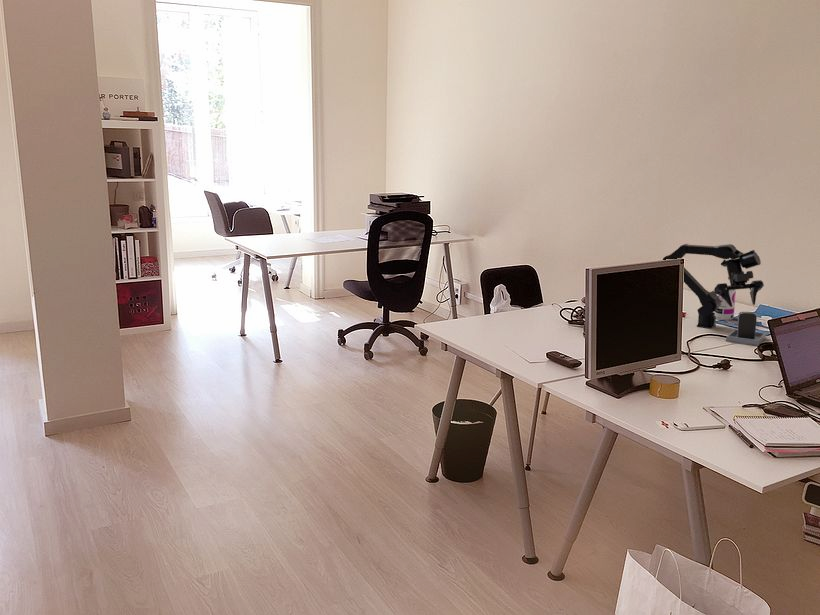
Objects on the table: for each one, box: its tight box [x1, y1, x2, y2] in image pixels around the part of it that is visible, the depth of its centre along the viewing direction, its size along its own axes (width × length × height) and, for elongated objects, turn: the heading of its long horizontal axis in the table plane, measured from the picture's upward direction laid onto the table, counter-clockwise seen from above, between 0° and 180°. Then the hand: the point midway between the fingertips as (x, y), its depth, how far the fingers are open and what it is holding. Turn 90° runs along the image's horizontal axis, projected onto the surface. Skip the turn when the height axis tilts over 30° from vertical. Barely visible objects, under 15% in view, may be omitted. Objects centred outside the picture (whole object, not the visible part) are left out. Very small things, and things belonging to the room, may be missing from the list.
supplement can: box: [714, 289, 737, 321], centre depth 322 cm, size 8×8×15 cm
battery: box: [737, 311, 758, 339], centre depth 290 cm, size 7×4×11 cm, turn 72°
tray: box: [725, 328, 767, 347], centre depth 291 cm, size 12×12×2 cm
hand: (742, 305), depth 293 cm, fingers open, 9 cm apart
